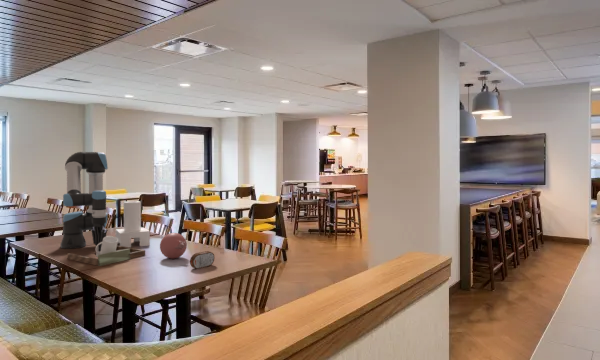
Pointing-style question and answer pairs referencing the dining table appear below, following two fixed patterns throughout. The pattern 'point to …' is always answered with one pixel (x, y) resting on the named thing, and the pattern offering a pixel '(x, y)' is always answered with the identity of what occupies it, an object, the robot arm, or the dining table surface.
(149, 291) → the dining table surface
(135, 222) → the white block stand
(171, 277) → the dining table surface
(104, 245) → the mug
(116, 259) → the wooden compartment tray
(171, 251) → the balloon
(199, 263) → the tin
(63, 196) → the robot arm
